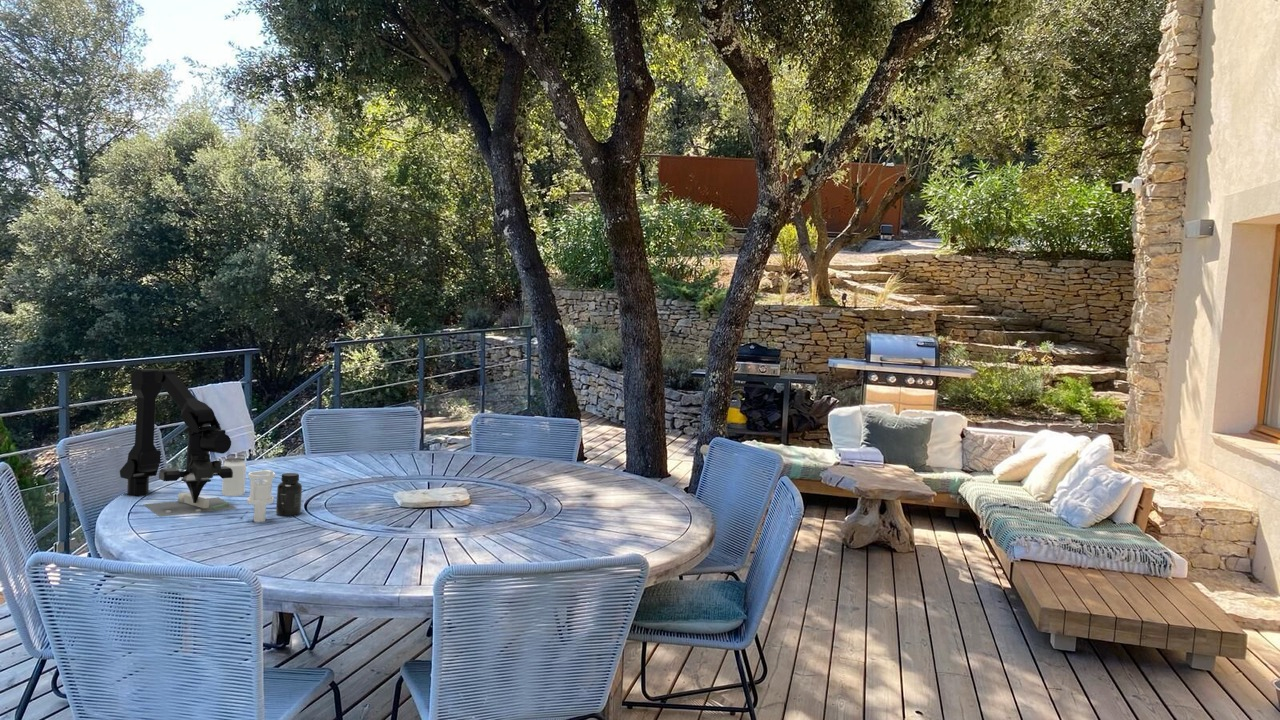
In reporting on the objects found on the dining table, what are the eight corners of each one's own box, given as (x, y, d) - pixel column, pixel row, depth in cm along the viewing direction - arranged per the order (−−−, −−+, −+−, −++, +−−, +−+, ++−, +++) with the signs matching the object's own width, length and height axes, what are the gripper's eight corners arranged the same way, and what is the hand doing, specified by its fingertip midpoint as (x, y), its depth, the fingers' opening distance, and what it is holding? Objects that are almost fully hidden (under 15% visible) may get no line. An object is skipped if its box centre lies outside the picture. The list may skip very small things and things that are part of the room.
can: (235, 500, 268) (237, 462, 267) (217, 497, 269) (219, 460, 268) (248, 495, 274) (250, 459, 273) (231, 493, 275) (232, 456, 275)
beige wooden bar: (175, 501, 256) (176, 493, 256) (185, 499, 259) (186, 491, 259) (201, 508, 250) (201, 500, 250) (211, 507, 253) (211, 499, 252)
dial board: (142, 507, 251) (143, 502, 251) (218, 500, 266) (218, 495, 265) (159, 519, 239) (159, 514, 239) (237, 511, 254) (237, 506, 254)
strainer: (259, 525, 242) (262, 472, 241) (240, 521, 244) (242, 469, 243) (278, 520, 248) (280, 469, 247) (259, 516, 251) (261, 466, 250)
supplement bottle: (270, 514, 254) (272, 474, 253) (288, 509, 260) (290, 471, 260) (288, 517, 252) (290, 477, 251) (305, 513, 258) (307, 474, 257)
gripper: (171, 454, 239) (168, 510, 239) (240, 452, 252) (237, 505, 252) (159, 449, 247) (156, 503, 247) (227, 447, 260) (224, 498, 260)
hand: (194, 502), depth 251 cm, fingers closed
